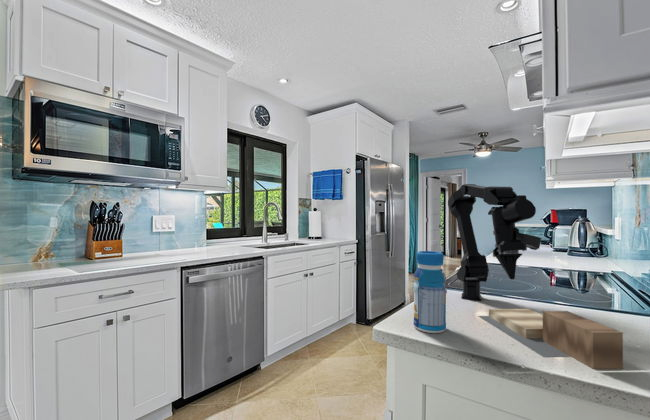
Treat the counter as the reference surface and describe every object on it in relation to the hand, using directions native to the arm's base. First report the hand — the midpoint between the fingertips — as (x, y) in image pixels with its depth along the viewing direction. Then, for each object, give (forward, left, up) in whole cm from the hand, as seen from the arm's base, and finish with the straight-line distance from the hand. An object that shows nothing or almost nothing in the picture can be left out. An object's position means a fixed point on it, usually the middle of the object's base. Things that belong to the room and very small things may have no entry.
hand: (512, 279), depth 88 cm
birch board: (+5, +3, -11) cm, 13 cm away
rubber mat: (+10, +4, -12) cm, 16 cm away
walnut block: (+14, +7, -8) cm, 17 cm away
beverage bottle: (+18, -21, -12) cm, 30 cm away
